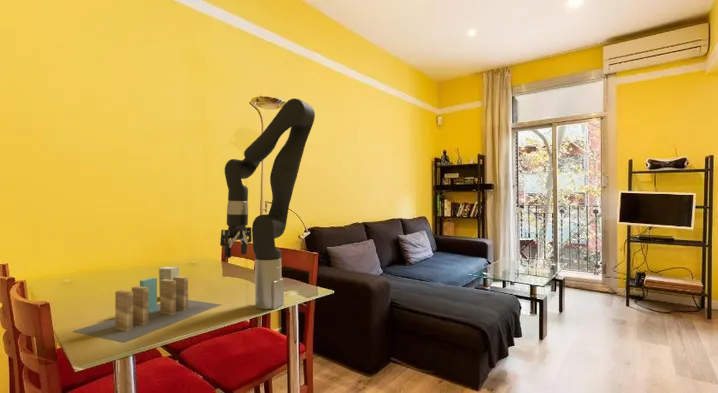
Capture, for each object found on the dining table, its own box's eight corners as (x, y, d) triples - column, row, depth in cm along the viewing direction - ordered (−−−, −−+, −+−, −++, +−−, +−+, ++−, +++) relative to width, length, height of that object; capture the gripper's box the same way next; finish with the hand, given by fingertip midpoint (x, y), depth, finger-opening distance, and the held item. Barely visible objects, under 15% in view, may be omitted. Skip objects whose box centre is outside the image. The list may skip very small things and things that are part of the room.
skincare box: (180, 297, 138) (180, 266, 138) (170, 300, 134) (170, 268, 134) (167, 296, 140) (168, 265, 140) (158, 299, 136) (158, 267, 136)
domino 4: (165, 311, 120) (165, 279, 120) (175, 313, 118) (175, 280, 118) (160, 313, 118) (160, 280, 118) (171, 314, 116) (171, 281, 116)
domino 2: (156, 309, 122) (156, 277, 122) (143, 313, 117) (143, 281, 117) (153, 308, 122) (153, 277, 123) (139, 313, 118) (139, 280, 118)
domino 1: (121, 326, 106) (121, 290, 106) (132, 328, 104) (132, 291, 104) (115, 328, 104) (115, 291, 104) (126, 330, 102) (127, 293, 102)
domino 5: (177, 307, 124) (177, 276, 124) (188, 308, 122) (188, 277, 122) (173, 308, 123) (173, 277, 123) (183, 310, 121) (183, 278, 121)
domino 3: (137, 321, 110) (137, 286, 110) (148, 323, 108) (148, 287, 109) (131, 322, 109) (131, 287, 109) (143, 325, 107) (143, 289, 107)
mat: (221, 305, 127) (221, 304, 127) (123, 344, 94) (123, 342, 94) (176, 299, 135) (176, 298, 135) (72, 332, 102) (72, 331, 102)
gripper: (232, 214, 123) (230, 260, 123) (257, 212, 137) (256, 254, 137) (215, 213, 126) (214, 258, 126) (242, 211, 139) (240, 252, 139)
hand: (236, 255), depth 131 cm, fingers open, 8 cm apart
